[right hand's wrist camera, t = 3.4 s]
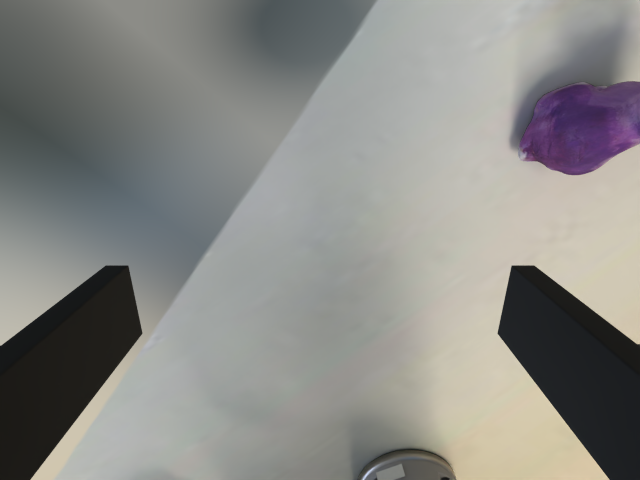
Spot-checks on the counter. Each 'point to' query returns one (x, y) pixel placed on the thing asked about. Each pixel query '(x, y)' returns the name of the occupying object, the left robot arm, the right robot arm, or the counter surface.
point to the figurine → (582, 126)
